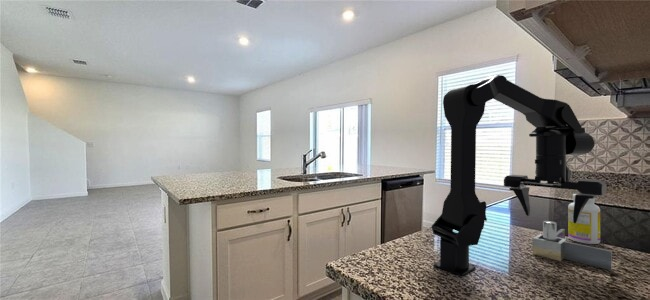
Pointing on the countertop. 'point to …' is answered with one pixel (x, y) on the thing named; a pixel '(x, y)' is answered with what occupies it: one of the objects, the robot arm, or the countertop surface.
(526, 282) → the countertop surface
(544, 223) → the hinge pin
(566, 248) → the hinge
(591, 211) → the supplement bottle
